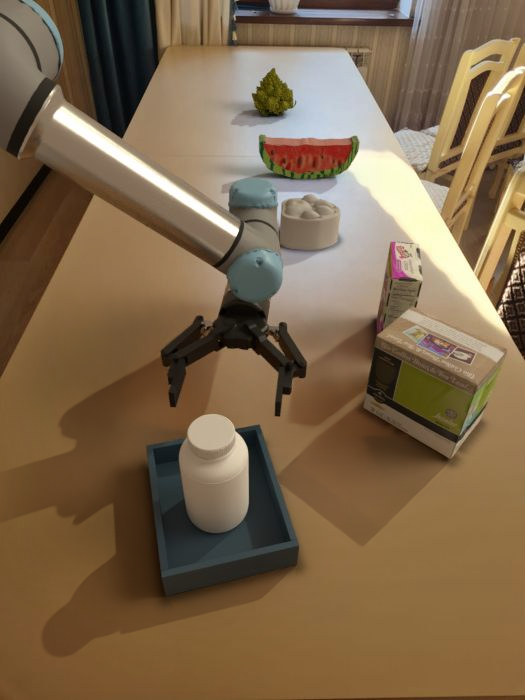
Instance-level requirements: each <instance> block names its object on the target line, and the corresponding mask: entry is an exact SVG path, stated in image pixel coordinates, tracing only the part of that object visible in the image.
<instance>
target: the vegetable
mask: <svg viewBox="0 0 525 700" xmlns="http://www.w3.org/2000/svg"><path fill="white" fill-rule="evenodd" d="M251 99H252V100H253V105H254V106H253V107H254V108H255V109H256V112H258V111H259V113H261V115H262V117H267V116H269V115H276V116H282V115H283V116H284V115H285V112H287V111H288V110H289V109H294V108H295V106H296V105H297V99H295V100H294V92H293V89H291V88H289V87H288V84H287V82H285V81H284V82H283V79H281V78H280V76H279V74H277V73H276V68H275V67H273V68H271V69H270V71H268V72H267V73H266V74H265V76H264V77H262V80H260V81H259V85H258V86H257V85H256V90H255V92H251Z"/></svg>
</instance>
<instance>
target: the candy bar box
mask: <svg viewBox="0 0 525 700" xmlns="http://www.w3.org/2000/svg"><path fill="white" fill-rule="evenodd" d="M384 271H385V272H384V276H383V283H382V287H381V293H380V299H379V303H378V310H377V315H376V316H377V317H376V336H377V335H378V334H379V333H381V332H382V331H383V330H384V329H385V328H386V327H388V326H389V325H390V324H391V323H392V322H394V321H395V320H396V319H397V318H398V317H399V316H401V315H402V314H403V313H404V312H405V311H406V310H408V309H409V308H410V307H411V306H412V307H415V308H417V307H418V302H419V297H420V293H421V289H422V285H423V282H424V279H423V269H422V259H421V248H420V244H419V243H413V242H403V241H402V242H400V241H390V243H389V248H388V253H387V259H386V265H385V270H384Z"/></svg>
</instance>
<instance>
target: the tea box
mask: <svg viewBox="0 0 525 700" xmlns="http://www.w3.org/2000/svg"><path fill="white" fill-rule="evenodd" d="M508 350H509V349H508V348H506V347H504V346H503V345H500V344H498V343H496V342H493V341H491V340H488V339H486V338H485V337H482V336H480V335H477V334H475V333H473V332H470V331H468V330H467V329H464V328H462V327H459V326H457V325H455V324H453V323H451V322H449V321H446V320H444V319H442V318H439V317H437V316H435V315H433V314H431V313H428V312H426V311H423V310H421V309H418V308H417V307H416V308H415V307H412V306H411V307H410V308H409V309H408V310H406V311H405V312H404V313H403V314H402V315H401V316H399V317H398V318H397V319H396V320H395V321H394V322H392V323H391V324H390V325H389V326H388V327H386V328H385V329H384V330H383V331H382V332H381V333H379V334H378V335H377V334H376V336H375V342H374V346H373V352H372V357H371V363H370V368H369V373H368V379H367V384H366V390H365V395H364V401H363V409H365V410H367V412H370V413H371V414H373V415H374V416H377V417H378V418H380V419H382V420H384V421H385V422H386V423H388V424H390V425H392V426H393V427H395V428H397V429H398V430H400V431H403V432H404V433H406V434H407V435H409V436H410V437H412V438H413V439H415V440H417V441H419V442H420V443H422V444H424V445H426V446H427V447H429V448H431V449H432V450H434V451H436V452H437V453H439V454H441V455H442V456H444V457H446V458H448V459H450V460H451V459H452V458H453V457H454V456H455V454H456V453H457V452H458V450H459V448H461V446H462V445H463V443H464V442H465V441H466V439H467V438H468V437H469V435H470V434H471V433H472V432H473V430H475V428H476V427H477V425H478V424H479V423H480V421H481V419H482V416H483V415H484V412H485V410H486V408H487V405H488V403H489V401H490V398H491V396H492V393H493V390H494V387H495V385H496V382H497V380H498V377H499V374H500V373H501V369H502V367H503V364H504V362H505V360H506V357H507V354H508Z"/></svg>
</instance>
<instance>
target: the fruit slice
mask: <svg viewBox="0 0 525 700" xmlns="http://www.w3.org/2000/svg"><path fill="white" fill-rule="evenodd" d="M359 149H360V139H359V137H358V135H352V136H350V137H346V138H345V137H344V138H315V137H301V138H290V137H269V136H266V135H265V134H261V133H260V134H259V135H258V153H259V155H260V158H261V161H262V162H263V163H264V165H265V167H266V168H267V169H268V170H270V171H271V172H273V173H274V174H276V175H282V176H285V177H287V178H290V179H295V180H314V179H320V178H329V177H333V176H337V175H341V174H342V173H345V171H347V170H349V168H350V167H351V165H352V163H353V162H354V160H355V158H356V157H357V155H358V153H359Z"/></svg>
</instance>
